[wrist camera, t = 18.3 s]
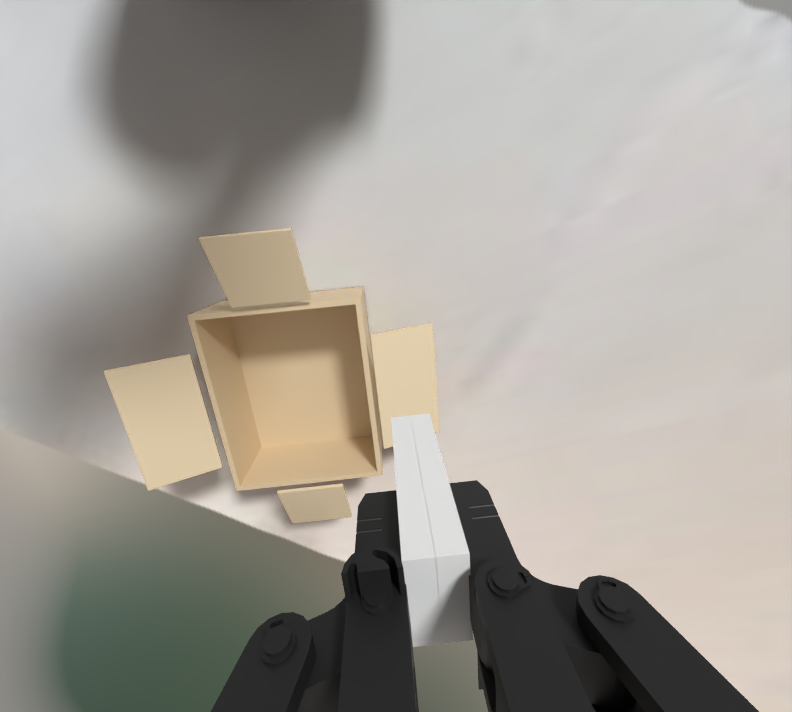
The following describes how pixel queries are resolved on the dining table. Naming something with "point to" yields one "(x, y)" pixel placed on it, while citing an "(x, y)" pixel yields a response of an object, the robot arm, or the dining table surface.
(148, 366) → the flap
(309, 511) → the flap
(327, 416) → the carton
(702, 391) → the dining table surface
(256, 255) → the flap
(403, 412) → the flap
